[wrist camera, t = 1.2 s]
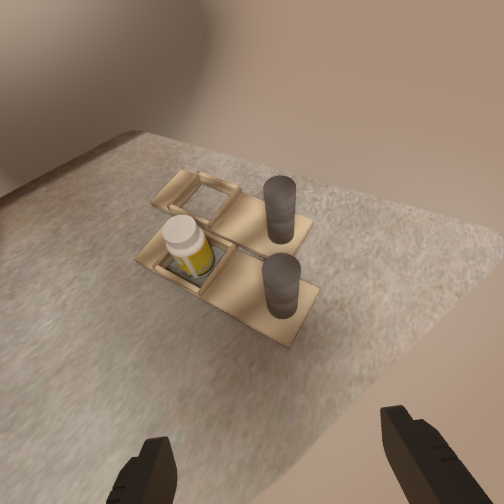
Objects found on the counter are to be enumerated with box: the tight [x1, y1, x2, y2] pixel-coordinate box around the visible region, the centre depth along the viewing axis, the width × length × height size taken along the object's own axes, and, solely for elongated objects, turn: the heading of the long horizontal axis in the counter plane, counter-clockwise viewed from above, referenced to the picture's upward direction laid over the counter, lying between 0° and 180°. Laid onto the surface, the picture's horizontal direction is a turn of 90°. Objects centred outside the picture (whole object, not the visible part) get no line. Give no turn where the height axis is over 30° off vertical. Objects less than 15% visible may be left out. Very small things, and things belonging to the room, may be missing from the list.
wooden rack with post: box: [134, 227, 320, 349], centre depth 34 cm, size 24×8×10 cm, turn 59°
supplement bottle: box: [162, 215, 215, 279], centre depth 36 cm, size 5×5×8 cm
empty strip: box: [150, 169, 314, 259], centre depth 40 cm, size 24×8×10 cm, turn 59°
